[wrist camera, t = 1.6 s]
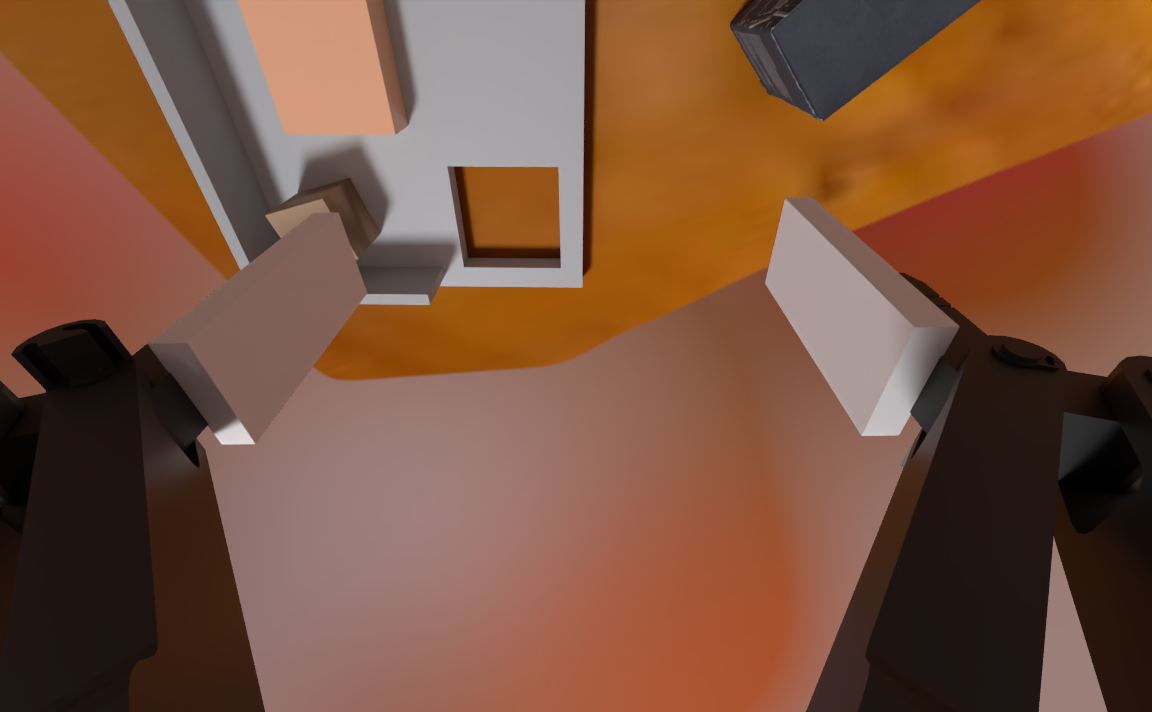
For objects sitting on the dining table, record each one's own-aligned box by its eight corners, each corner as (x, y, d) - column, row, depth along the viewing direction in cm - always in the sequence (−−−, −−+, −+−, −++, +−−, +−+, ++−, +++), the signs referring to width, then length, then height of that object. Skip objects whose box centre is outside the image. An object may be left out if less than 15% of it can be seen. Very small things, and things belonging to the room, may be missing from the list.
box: (874, -122, 28) (990, -170, 20) (912, -21, 31) (1028, -26, 23) (723, 22, 33) (768, 31, 25) (769, 99, 36) (822, 130, 28)
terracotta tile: (262, -7, 31) (235, -7, 29) (381, -7, 31) (364, -7, 28) (305, 125, 36) (285, 134, 33) (408, 125, 36) (395, 134, 33)
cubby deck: (154, -85, 30) (57, -102, 25) (585, -86, 30) (585, -104, 24) (300, 274, 46) (261, 312, 41) (582, 277, 46) (581, 316, 40)
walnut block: (297, 193, 39) (264, 215, 35) (349, 177, 38) (322, 198, 34) (331, 246, 42) (304, 272, 38) (380, 233, 41) (358, 258, 37)
